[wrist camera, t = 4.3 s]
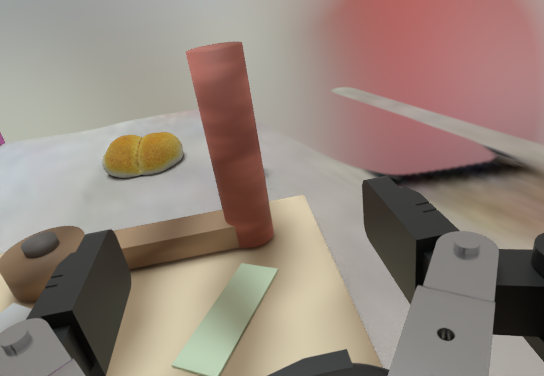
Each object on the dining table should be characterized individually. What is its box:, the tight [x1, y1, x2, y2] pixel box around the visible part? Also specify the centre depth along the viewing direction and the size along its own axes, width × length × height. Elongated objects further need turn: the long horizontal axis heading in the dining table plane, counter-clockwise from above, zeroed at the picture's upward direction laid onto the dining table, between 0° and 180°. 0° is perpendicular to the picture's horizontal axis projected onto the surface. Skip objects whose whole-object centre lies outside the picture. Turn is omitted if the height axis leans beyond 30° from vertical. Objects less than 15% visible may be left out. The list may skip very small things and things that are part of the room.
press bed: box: [0, 195, 383, 376], centre depth 23 cm, size 25×16×5 cm, turn 98°
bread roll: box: [103, 132, 183, 178], centre depth 46 cm, size 8×9×4 cm
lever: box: [0, 42, 274, 301], centre depth 23 cm, size 17×5×12 cm, turn 98°
